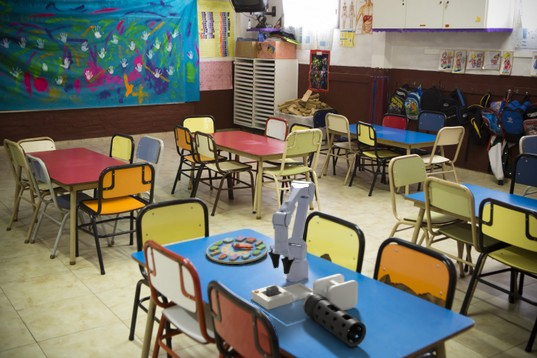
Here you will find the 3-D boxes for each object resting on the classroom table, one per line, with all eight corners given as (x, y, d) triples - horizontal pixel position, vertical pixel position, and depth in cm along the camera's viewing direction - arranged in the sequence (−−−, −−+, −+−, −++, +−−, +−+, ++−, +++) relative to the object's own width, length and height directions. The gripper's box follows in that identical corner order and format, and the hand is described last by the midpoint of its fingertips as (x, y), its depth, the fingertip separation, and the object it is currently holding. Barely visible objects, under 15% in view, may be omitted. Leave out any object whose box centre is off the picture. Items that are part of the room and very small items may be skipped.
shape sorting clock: (193, 257, 285) (193, 245, 284) (232, 240, 310) (231, 229, 308) (243, 270, 268) (243, 258, 267) (279, 251, 293) (279, 240, 291)
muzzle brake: (344, 352, 197) (345, 324, 195) (300, 319, 221) (301, 294, 218) (366, 345, 201) (367, 318, 199) (321, 313, 225) (322, 289, 223)
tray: (299, 286, 250) (299, 282, 250) (316, 295, 241) (316, 291, 241) (278, 292, 244) (278, 288, 244) (294, 302, 235) (294, 298, 235)
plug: (274, 299, 238) (274, 285, 237) (278, 301, 235) (278, 288, 234) (266, 301, 236) (266, 287, 234) (270, 304, 233) (270, 290, 232)
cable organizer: (328, 316, 223) (328, 288, 220) (311, 306, 231) (311, 279, 228) (357, 307, 231) (358, 280, 228) (340, 297, 239) (341, 271, 236)
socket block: (275, 293, 244) (275, 282, 242) (292, 303, 234) (292, 292, 233) (251, 300, 237) (251, 289, 236) (267, 311, 227) (267, 300, 226)
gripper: (263, 236, 244) (263, 267, 247) (283, 246, 232) (283, 278, 235) (277, 233, 247) (277, 263, 251) (297, 243, 236) (297, 274, 239)
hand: (281, 270), depth 243 cm, fingers open, 7 cm apart
